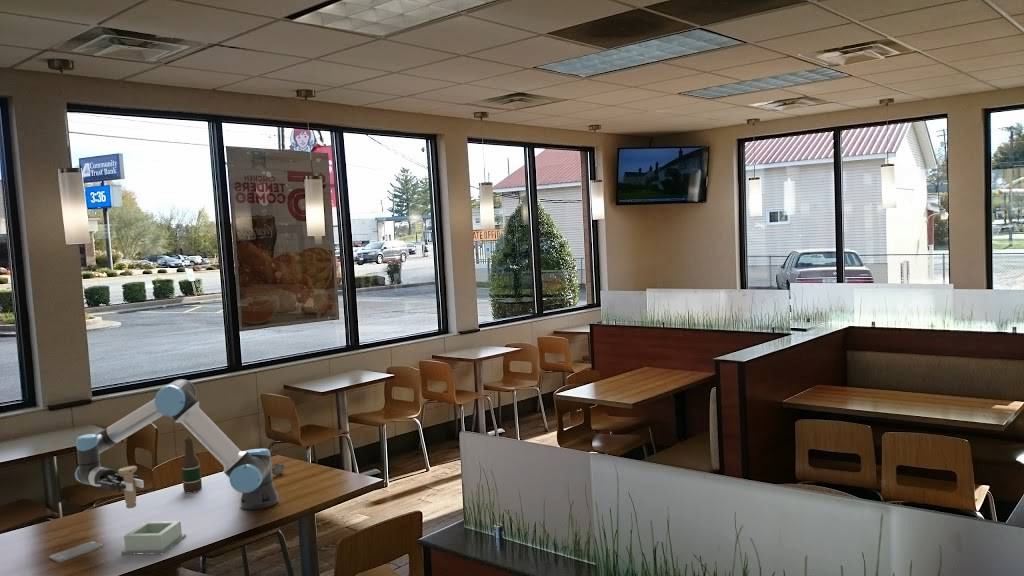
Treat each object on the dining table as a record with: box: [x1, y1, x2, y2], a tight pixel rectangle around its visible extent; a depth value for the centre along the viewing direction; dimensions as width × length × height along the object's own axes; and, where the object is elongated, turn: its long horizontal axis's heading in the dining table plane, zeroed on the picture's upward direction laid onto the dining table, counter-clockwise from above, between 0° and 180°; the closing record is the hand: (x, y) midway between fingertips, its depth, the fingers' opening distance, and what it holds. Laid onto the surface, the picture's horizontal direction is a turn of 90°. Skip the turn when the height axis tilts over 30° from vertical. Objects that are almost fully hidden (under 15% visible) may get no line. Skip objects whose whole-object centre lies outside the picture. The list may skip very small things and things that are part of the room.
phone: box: [48, 540, 104, 563], centre depth 295 cm, size 8×16×1 cm, turn 144°
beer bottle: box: [181, 436, 203, 493], centre depth 360 cm, size 8×8×24 cm
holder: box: [120, 520, 187, 555], centre depth 297 cm, size 16×16×6 cm
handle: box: [117, 465, 138, 509], centre depth 302 cm, size 5×6×15 cm
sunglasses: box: [271, 463, 285, 477], centre depth 379 cm, size 16×17×5 cm
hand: (137, 485), depth 299 cm, fingers closed on handle, 4 cm apart
